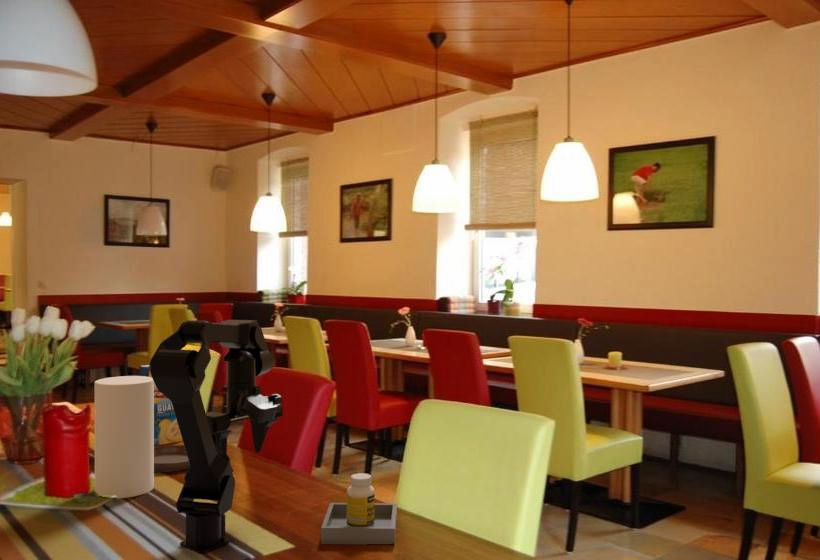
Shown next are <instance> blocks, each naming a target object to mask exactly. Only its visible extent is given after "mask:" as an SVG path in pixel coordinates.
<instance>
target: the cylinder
mask: <svg viewBox="0 0 820 560" xmlns="http://www.w3.org/2000/svg"><path fill="white" fill-rule="evenodd" d="M154 447H155V446H154V381H153V378H151V377H146V376H139V375H123V376H121V375H119V376H112V377H103V378H99V379H97V380H95V381H94V492H95V491H96V492H97V493H98V494H100V495H116V496H117V498H116V499H127V498H133V497H138V496H141V495H144V494H147V493H149V492H151V491H152V490H153V489H154V487H155V471H154Z"/></svg>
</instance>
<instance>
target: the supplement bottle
mask: <svg viewBox="0 0 820 560" xmlns="http://www.w3.org/2000/svg"><path fill="white" fill-rule="evenodd" d="M371 484H372V475H371V474H369V473H365V472H364V473H361V472H360V473H359V472H358V473H354V474H351V476H350V486H348V488H347V489H346V503H347V527H373V526H374V511H375V503H376V502H375V496H376V495H375V492H376V491H375V488H374V487H373V485H371Z"/></svg>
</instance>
